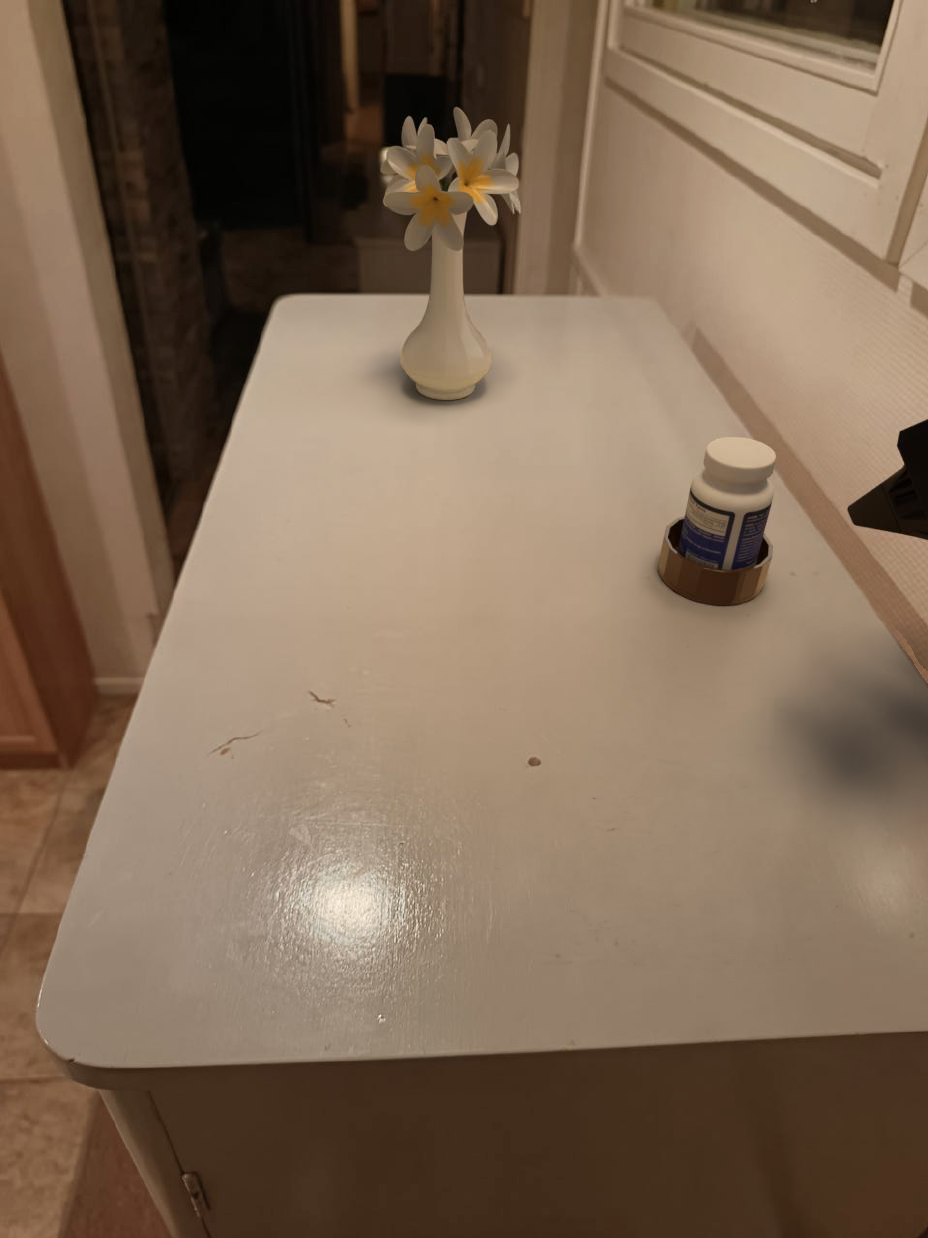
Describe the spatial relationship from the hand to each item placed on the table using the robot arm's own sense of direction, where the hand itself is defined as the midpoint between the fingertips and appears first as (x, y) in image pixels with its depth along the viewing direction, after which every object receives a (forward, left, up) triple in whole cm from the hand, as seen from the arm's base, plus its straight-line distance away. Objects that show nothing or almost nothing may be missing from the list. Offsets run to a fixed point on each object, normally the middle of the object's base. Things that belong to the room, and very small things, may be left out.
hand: (902, 493), depth 50 cm
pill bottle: (+9, -9, -13) cm, 18 cm away
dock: (+9, -9, -14) cm, 18 cm away
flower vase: (+38, -33, -14) cm, 52 cm away
